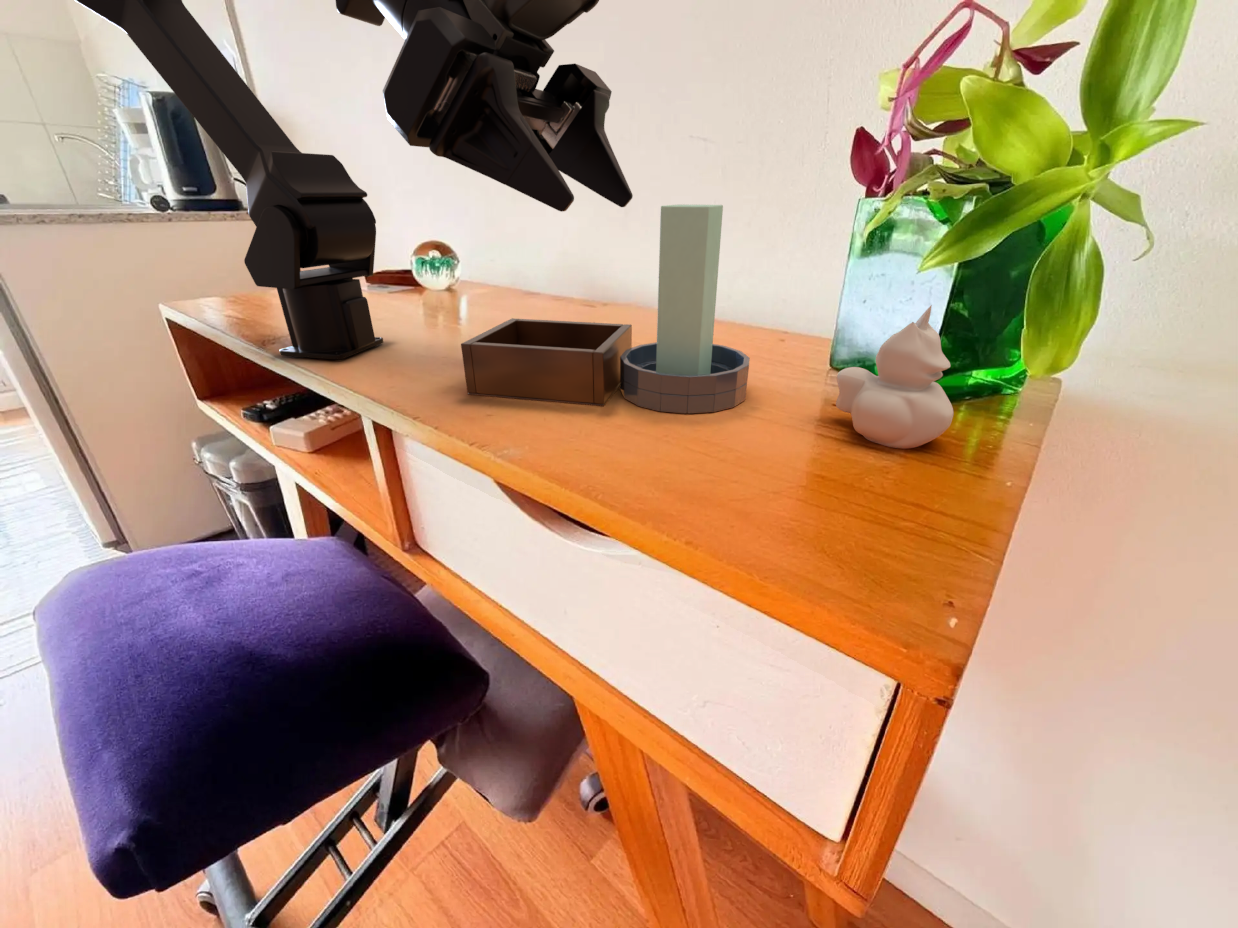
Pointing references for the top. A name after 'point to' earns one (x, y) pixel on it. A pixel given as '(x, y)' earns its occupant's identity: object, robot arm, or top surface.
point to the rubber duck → (900, 390)
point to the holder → (547, 361)
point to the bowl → (684, 382)
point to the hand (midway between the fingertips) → (601, 204)
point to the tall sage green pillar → (687, 287)
